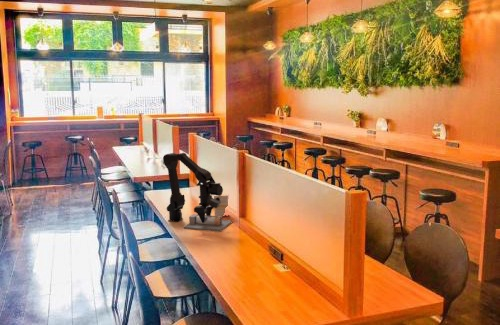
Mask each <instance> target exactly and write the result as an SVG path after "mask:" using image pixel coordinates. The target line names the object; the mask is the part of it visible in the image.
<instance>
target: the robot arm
mask: <svg viewBox="0 0 500 325" xmlns="http://www.w3.org/2000/svg"><path fill="white" fill-rule="evenodd" d="M162 161H163V164H164V166H165V168H166V170H167V173H168V179H169V185H170V192H171V195H170V198H169V204H168V206H166V212H168V216H169V217H168V218H169V219H168V222H172V223H173V222H174V223H175V222H176V223H178V222H180V221H182V220H183V219H184V218H183V213H182V210H183V209H184V207H185V206H184V205H185V203H186V199H185V195H184V194H182V193H181V190H180V184H179V177H178V170H177V167H178V164H179V161H180V163H182V164H183V165H184V166H186V168H187V169H189V170H190V171H191V172H192V173H193V174H194V176H195V179H196V180H197V181H198V182H197V184H196V186H197V187H199V195H198V199H199V200H200V201H199V203H198V205H196V206H195V207H194V208H193V212H194V213H195V214H197V215H198V216H199V217H200V219H201V221H202V223H204V222H205V215H210V216H212V211H213V209H215V208H217V207H219V205H220V203H221V201H220V198H219V197H217V198H216V199H215V198H214V197H213V196H214V195H218V196H220V195H222V194H223V191H224V188H223V186H222V185H221V182H216V181H215V178H214V177H213V176H212V174H211V172H210V171H209V170H208V169H205V168H203V167H201V166H199V165H198V164H197V163H196V161H194V160H192V158H191V157H189V156H188V155H187V153H185V152H181V153H175V152H172V153H166V154H164V155H163V158H162Z"/></svg>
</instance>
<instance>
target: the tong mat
mask: <svg viewBox="0 0 500 325" xmlns="http://www.w3.org/2000/svg"><path fill="white" fill-rule="evenodd" d="M196 216H198V214H197V213H195V214H191V215H190V216H188V217H189V218H188V220H189V222H188V223H187V224H185V226H183V229H184V230H185V229H186V230H195V231H207V232H218V233H219V232H222V231H224V229H226V228H227V227H228V226H230V225H231V224H232V223H233V222H232V221H231V220H232V219H222V224H220V225H211V224H198V223H196ZM231 222H232V223H231ZM230 223H231V224H230ZM229 224H230V225H229Z"/></svg>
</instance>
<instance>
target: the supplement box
mask: <svg viewBox="0 0 500 325" xmlns="http://www.w3.org/2000/svg"><path fill="white" fill-rule="evenodd" d="M227 194H228V193H222V195H220V196H218V195H213V198H215V199H216V198H217V197H219V198H220V201H221V203H220V205H219V207H217V208H214V216H223V215H224V213H225V208H226V207H227V206H228V199H229V194H228V195H227Z"/></svg>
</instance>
